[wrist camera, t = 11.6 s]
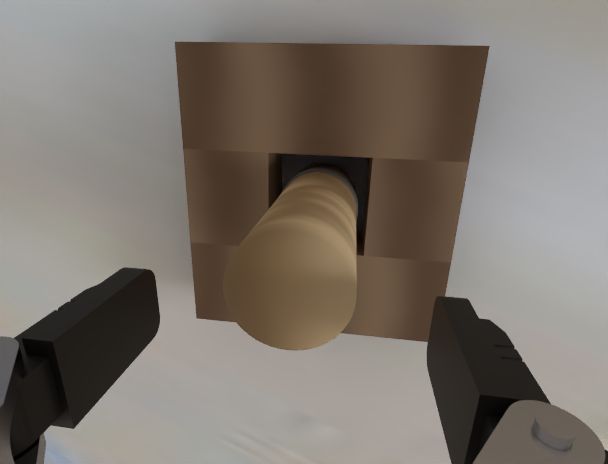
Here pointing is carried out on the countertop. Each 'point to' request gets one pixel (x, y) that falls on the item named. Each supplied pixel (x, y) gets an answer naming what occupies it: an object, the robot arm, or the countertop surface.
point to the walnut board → (333, 142)
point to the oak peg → (298, 263)
